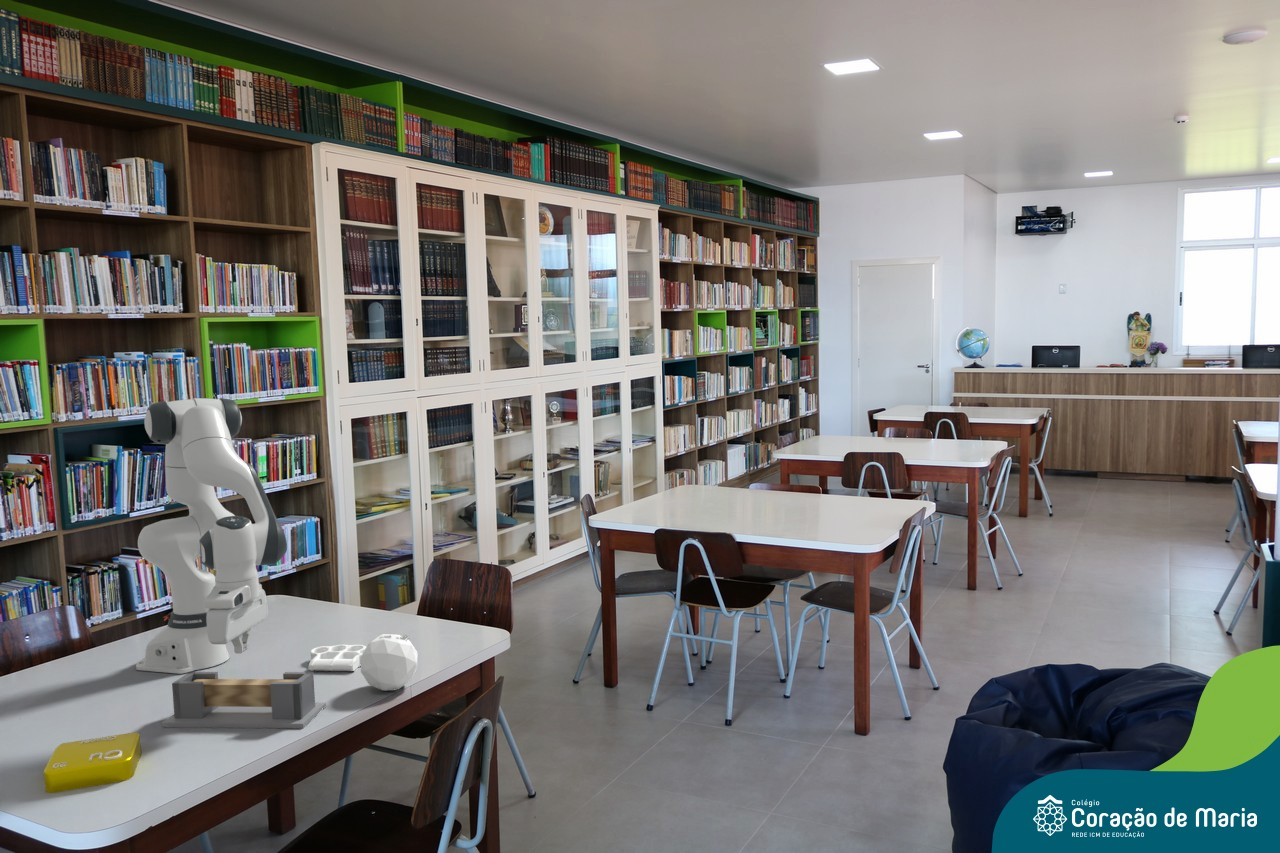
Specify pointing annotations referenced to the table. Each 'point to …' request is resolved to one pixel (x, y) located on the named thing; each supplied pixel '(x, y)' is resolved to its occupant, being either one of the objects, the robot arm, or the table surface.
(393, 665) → the geodesic sphere
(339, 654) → the knuckle duster
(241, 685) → the oak slat
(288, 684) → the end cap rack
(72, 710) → the table surface
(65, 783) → the element tile
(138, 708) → the table surface
